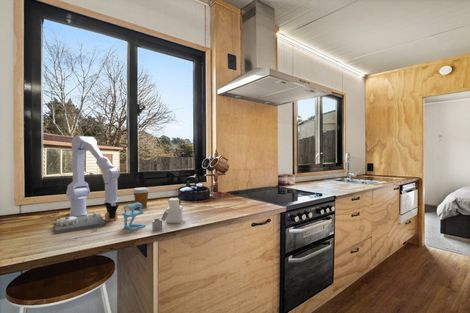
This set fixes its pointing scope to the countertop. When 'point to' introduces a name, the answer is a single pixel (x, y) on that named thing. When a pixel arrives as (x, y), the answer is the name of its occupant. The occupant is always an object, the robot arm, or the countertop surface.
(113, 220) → the orange gear
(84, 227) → the gear board
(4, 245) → the countertop surface
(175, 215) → the medicine bottle
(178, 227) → the countertop surface
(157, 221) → the lighter
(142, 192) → the disposable coffee cup
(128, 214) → the chair
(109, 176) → the robot arm
